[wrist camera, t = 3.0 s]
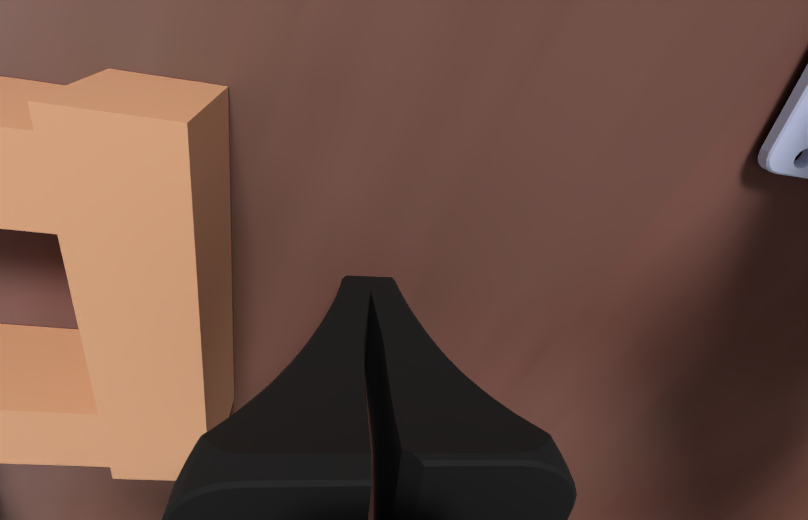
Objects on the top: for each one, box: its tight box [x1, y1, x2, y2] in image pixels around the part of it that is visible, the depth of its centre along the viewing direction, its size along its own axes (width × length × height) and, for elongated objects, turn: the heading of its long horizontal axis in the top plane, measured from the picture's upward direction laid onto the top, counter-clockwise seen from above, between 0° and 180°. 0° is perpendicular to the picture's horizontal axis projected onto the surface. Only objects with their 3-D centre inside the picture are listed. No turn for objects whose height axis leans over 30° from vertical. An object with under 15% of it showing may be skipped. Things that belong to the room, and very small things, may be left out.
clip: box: [0, 69, 234, 481], centre depth 11 cm, size 8×10×3 cm
